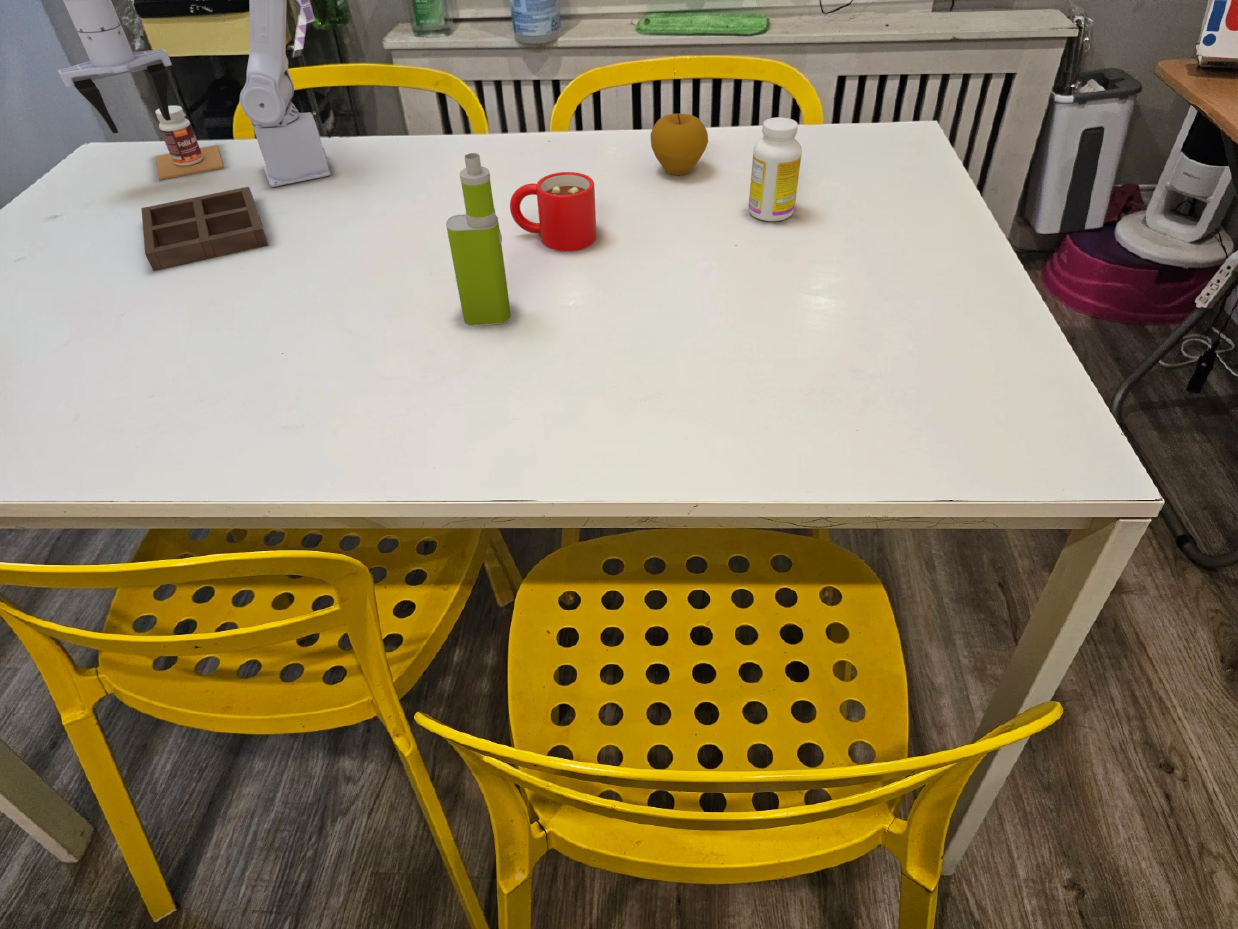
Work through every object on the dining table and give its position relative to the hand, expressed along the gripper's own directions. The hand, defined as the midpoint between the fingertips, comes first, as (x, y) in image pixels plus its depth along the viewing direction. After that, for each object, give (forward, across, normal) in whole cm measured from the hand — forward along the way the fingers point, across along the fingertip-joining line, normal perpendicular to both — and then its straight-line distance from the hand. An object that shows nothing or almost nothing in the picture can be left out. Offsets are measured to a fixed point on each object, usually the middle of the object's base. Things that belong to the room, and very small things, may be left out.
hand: (141, 124), depth 122 cm
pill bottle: (+9, +5, +6) cm, 12 cm away
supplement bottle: (+10, +66, -70) cm, 97 cm away
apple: (+10, +66, -50) cm, 83 cm away
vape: (+10, +20, -67) cm, 70 cm away
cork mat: (+9, +5, +6) cm, 12 cm away
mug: (+10, +38, -56) cm, 68 cm away
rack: (+9, 0, -22) cm, 24 cm away
